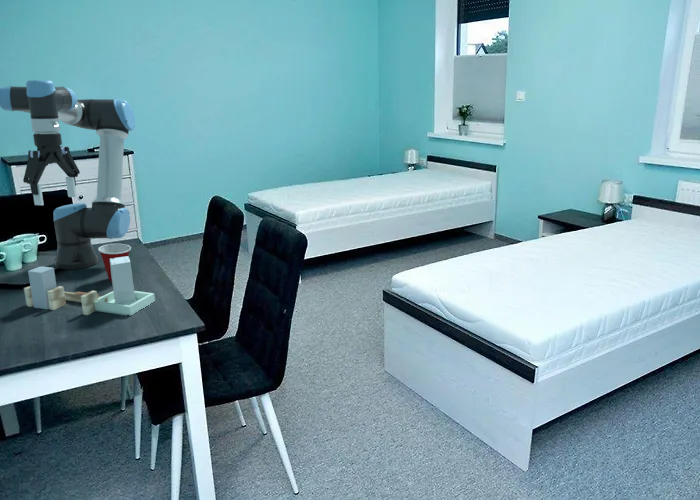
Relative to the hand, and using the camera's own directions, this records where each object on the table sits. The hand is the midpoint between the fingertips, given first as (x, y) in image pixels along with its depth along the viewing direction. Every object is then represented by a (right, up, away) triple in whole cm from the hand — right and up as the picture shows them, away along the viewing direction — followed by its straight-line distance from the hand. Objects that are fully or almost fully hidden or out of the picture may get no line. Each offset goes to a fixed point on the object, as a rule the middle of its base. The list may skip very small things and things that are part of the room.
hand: (56, 200), depth 176 cm
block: (-3, -33, 0) cm, 33 cm away
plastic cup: (+10, -26, +24) cm, 37 cm away
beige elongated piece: (+4, -33, 0) cm, 33 cm away
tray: (+22, -33, 0) cm, 40 cm away
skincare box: (+22, -33, -1) cm, 40 cm away
